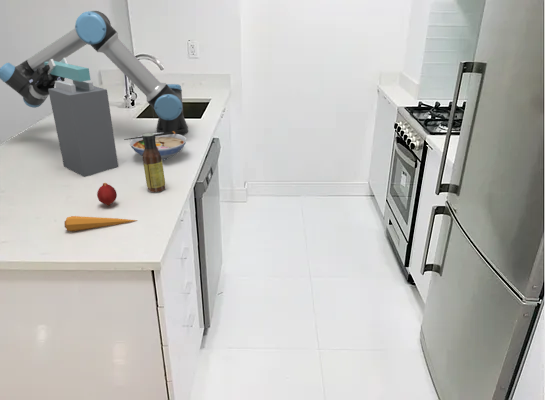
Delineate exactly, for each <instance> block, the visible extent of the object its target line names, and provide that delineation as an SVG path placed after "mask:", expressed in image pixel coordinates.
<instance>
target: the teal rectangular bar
mask: <svg viewBox="0 0 545 400" xmlns="http://www.w3.org/2000/svg"><path fill="white" fill-rule="evenodd" d="M54 63H55V68H54V69H53V70H52V72H51V73H48V74H52V75H56V76H60V77H64V78H65V79H67V80H71V81H73V80H75V81H79V82H81V81H91V79H92V78H91V74H90V69H89V67H83V66H78V65H74V64H70V63H68V64H66V63H61V61H60V62H57V61H54ZM47 64H48V62H44V65H47Z"/></svg>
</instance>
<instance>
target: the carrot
mask: <svg viewBox="0 0 545 400" xmlns="http://www.w3.org/2000/svg"><path fill="white" fill-rule="evenodd" d="M137 221H138V220H136V219H126V218H112V217H99V216H98V217H97V216H96V217H94V216H79V215H75V216H73V215H70V216H68V217H66V219H65V220H64V228H65V229H66V231H67V232H79V231H86V230H91V229H97V228H104V227H110V226H118V225H123V224H128V223H133V222H137Z"/></svg>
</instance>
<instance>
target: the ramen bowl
mask: <svg viewBox="0 0 545 400" xmlns="http://www.w3.org/2000/svg"><path fill="white" fill-rule="evenodd" d="M153 133H154V134H155V142H156V146H157V148H158V151H159V153H160V155H161V157H162V161H164V159H165V160H167V158H168V159H169V158H172V157H175V156H176V155H178V154H179V153H180V152H181V151H182V149H183V148H184V147H185V145H186V144H187V138H186V136H184V135H180V134H177V133H184V131H183V130H179V131H172V132H166V133H157V132H153ZM142 135H143V134H142ZM142 135H138V136H136V137H131V138H123V139H124V141H126V140H127V141H128V140H129V145H130V147H131V148H132V150H133V151H134V152H135V153H136V154H138V155H139V156H141V157H143V152H144V149H145V147H144V140H143V136H142Z"/></svg>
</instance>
